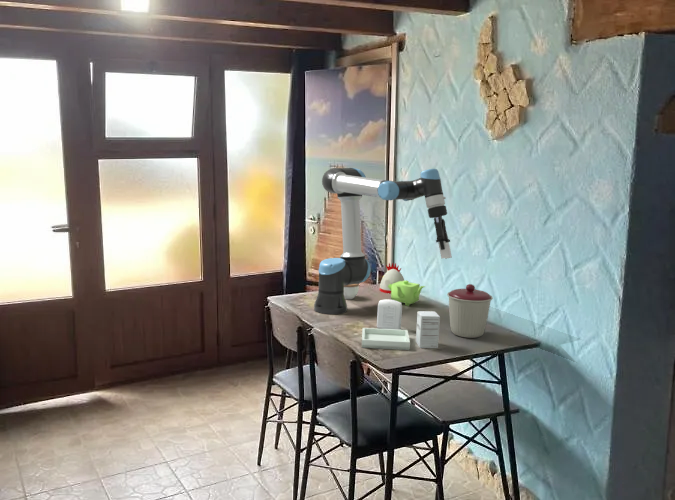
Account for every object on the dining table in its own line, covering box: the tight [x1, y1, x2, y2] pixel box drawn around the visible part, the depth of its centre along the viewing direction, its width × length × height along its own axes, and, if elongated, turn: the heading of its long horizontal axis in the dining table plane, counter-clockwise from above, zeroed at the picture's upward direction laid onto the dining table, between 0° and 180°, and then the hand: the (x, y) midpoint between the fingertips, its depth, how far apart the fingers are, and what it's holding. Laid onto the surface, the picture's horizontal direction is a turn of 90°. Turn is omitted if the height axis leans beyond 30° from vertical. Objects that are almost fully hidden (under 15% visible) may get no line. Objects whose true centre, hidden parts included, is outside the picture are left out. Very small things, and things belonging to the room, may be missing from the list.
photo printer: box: [376, 298, 403, 330], centre depth 262 cm, size 10×4×12 cm, turn 72°
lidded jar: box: [344, 283, 360, 300], centre depth 313 cm, size 11×11×9 cm
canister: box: [447, 283, 494, 339], centre depth 257 cm, size 18×18×21 cm
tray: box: [361, 327, 411, 351], centre depth 244 cm, size 18×16×3 cm
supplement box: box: [415, 310, 441, 349], centre depth 242 cm, size 7×7×13 cm
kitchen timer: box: [379, 262, 405, 295], centre depth 331 cm, size 14×14×15 cm
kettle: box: [388, 279, 426, 307], centre depth 306 cm, size 15×14×11 cm
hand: (446, 258), depth 255 cm, fingers open, 13 cm apart
